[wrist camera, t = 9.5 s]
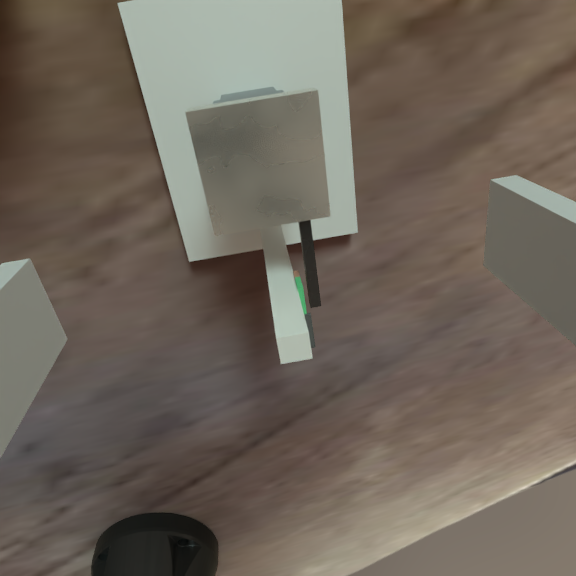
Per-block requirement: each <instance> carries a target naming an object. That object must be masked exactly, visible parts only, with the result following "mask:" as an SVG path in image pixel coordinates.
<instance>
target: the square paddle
mask: <svg viewBox="0 0 576 576" xmlns="http://www.w3.org/2000/svg"><path fill="white" fill-rule="evenodd" d="M185 114H186V118H187V122H188V126H189V131H190V135H191V139H192V143H193V147H194V151H195V156H196V160H197V164H198V168H199V172H200V177H201V181H202V185H203V189H204V193H205V198H206V202H207V206H208V210H209V214H210V219H211V223H212V227H213V231H214V235H215V236H220V235H226V234H232V233H238V232H243V231H249V230H255V229H261V228H267V227H272V226H278V225H284V224H290V223H296V222H298V223H299V231H300V238H301V245H302V253H303V260H304V267H305V274H306V282H307V289H308V296H309V303H310V306H311V308H312V307H318V306H321V301H320V293H319V285H318V277H317V269H316V261H315V253H314V244H313V236H312V228H311V220H313V219H319V218H325V217H330V216H331V215H330V205H329V195H328V185H327V175H326V165H325V155H324V145H323V135H322V125H321V114H320V104H319V94H318V90H317V89H315V88H313V87H312V88H306V89H300V90H294V91H288V92H282V93H276V94H270V95H264V96H258V97H252V98H246V99H239V100H233V101H227V102H221V103H215V104H209V105H203V106H197V107H191V108H188V109H187V110H186V112H185Z"/></svg>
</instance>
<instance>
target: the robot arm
mask: <svg viewBox="0 0 576 576" xmlns="http://www.w3.org/2000/svg"><path fill="white" fill-rule="evenodd" d="M483 266H484V267H486V268H487V269H488V270H489V271H490V272H491V273H492V274H494V275H495V276H496V277H497V278H498V279H499V280H501V281H502V282H503V283H504V284H505V285H506V286H507V287H509V288H510V289H511V290H512V291H513V292H514V293H516V294H517V295H518V296H519V297H520V298H521V299H522V300H524V301H525V302H526V303H527V304H528V305H529V306H530V307H532V308H533V309H534V310H535V311H536V312H537V313H539V314H540V315H541V316H542V317H543V318H544V319H545V320H547V321H548V322H549V323H550V324H551V325H552V326H553V327H555V328H556V329H557V330H558V331H559V332H560V333H562V334H563V335H564V336H565V337H566V338H567V339H568V340H570V341H571V342H572V343H573V344H574V345H575V346H576V202H575V201H572V200H570V199H568V198H566V197H564V196H561V195H559V194H557V193H555V192H552V191H550V190H548V189H546V188H544V187H541V186H539V185H537V184H535V183H532V182H530V181H528V180H526V179H524V178H521V177H519V176H517V175H515V176H509V177H503V178H497V179H492V180H490V190H489V202H488V215H487V227H486V239H485V251H484V264H483ZM66 341H67V337H66V335H65V333H64V330H63V328H62V326H61V324H60V322H59V320H58V318H57V315H56V313H55V311H54V309H53V307H52V305H51V302H50V300H49V298H48V296H47V294H46V292H45V289H44V287H43V285H42V283H41V281H40V279H39V276H38V274H37V272H36V270H35V268H34V266H33V264H32V261H31V259H24V260H19V261H13V262H7V263H2V264H1V265H0V458H1V456H2V454H3V453H4V451H5V449H6V447H7V446H8V444H9V442H10V440H11V438H12V437H13V435H14V433H15V431H16V430H17V428H18V426H19V424H20V423H21V421H22V419H23V417H24V415H25V414H26V412H27V410H28V408H29V407H30V405H31V403H32V401H33V399H34V398H35V396H36V394H37V392H38V391H39V389H40V387H41V385H42V384H43V382H44V380H45V378H46V376H47V375H48V373H49V371H50V369H51V368H52V366H53V364H54V362H55V360H56V359H57V357H58V355H59V353H60V352H61V350H62V348H63V346H64V345H65V343H66ZM217 565H218V542H217V539H216V537H215V536H214V534H213V533H212V532H211V530H209V529H208V528H207V527H206V526H205V525H203V524H202V523H200V522H198V521H196V520H194V519H191V518H188V517H185V516H181V515H176V514H168V513H150V514H142V515H137V516H133V517H130V518H127V519H124V520H122V521H119V522H117V523H116V524H114V525H112V526H111V527H109V528H108V529H107V530H106V531H105V532H104V533H103V534H102V535H101V536H100V538H99V540H98V542H97V544H96V548H95V552H94V555H93V559H92V565H91V574H92V576H215V573H216V570H217Z"/></svg>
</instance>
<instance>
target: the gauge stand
mask: <svg viewBox="0 0 576 576" xmlns="http://www.w3.org/2000/svg"><path fill="white" fill-rule="evenodd" d="M118 7H119V10H120V14H121V17H122V21H123V25H124V28H125V32H126V35H127V39H128V43H129V46H130V50H131V53H132V57H133V61H134V64H135V68H136V71H137V75H138V79H139V82H140V86H141V90H142V93H143V97H144V100H145V104H146V108H147V111H148V115H149V118H150V122H151V126H152V129H153V133H154V136H155V140H156V144H157V147H158V151H159V154H160V158H161V162H162V165H163V169H164V173H165V176H166V180H167V183H168V187H169V191H170V194H171V198H172V201H173V205H174V209H175V212H176V216H177V219H178V223H179V227H180V230H181V234H182V237H183V241H184V245H185V248H186V252H187V256H188V259H189V262H191V261H197V260H203V259H208V258H214V257H220V256H226V255H231V254H237V253H243V252H249V251H254V250H260V249H263V251H264V258H265V265H266V272H267V278H268V285H269V292H270V299H271V306H272V313H273V320H274V327H275V334H276V340H277V345H278V351H279V356H280V361H281V364H284V363H290V362H296V361H301V360H307V359H312V351H311V348H314V347H315V342H314V334H313V327H312V320H311V314H310V313H307V312H306V305H305V298H304V291H303V286H302V282H301V279H300V275H299V272H298V271H293V270H292V266H291V262H290V258H289V254H288V251H287V247H286V245H289V244H295V243H300V242H301V238H300V231H299V223H298V222H296V223H290V224H284V225H278V226H272V227H267V228H261V229H255V230H249V231H243V232H238V233H232V234H226V235H220V236H215V235H214V231H213V227H212V223H211V219H210V214H209V210H208V206H207V202H206V198H205V193H204V189H203V185H202V181H201V177H200V172H199V168H198V164H197V160H196V156H195V151H194V147H193V143H192V139H191V135H190V131H189V126H188V122H187V118H186V114H185V112H186V110H187V109H188V108H191V107H197V106H203V105H209V104H215V103H221V102H227V101H233V100H239V99H246V98H252V97H258V96H264V95H270V94H276V93H282V92H288V91H294V90H300V89H306V88H312V87H313V88H315V89H317V90H318V94H319V104H320V114H321V125H322V135H323V145H324V155H325V165H326V175H327V185H328V195H329V205H330V215H331V216H330V217H325V218H319V219H313V220H311V228H312V236H313V240H318V239H323V238H329V237H335V236H341V235H346V234H352V233H358V230H357V216H356V201H355V187H354V172H353V158H352V143H351V129H350V114H349V100H348V86H347V71H346V57H345V42H344V28H343V13H342V0H133V1H127V2H121V3H118ZM293 273H294V274H293Z"/></svg>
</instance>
